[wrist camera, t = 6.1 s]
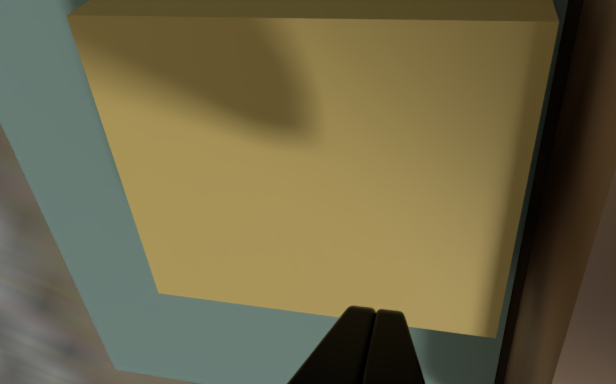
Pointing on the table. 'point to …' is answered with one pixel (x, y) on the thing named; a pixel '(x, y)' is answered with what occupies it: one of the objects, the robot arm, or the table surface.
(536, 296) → the brown wooden block
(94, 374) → the table surface
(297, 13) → the yellow block
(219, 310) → the mat
